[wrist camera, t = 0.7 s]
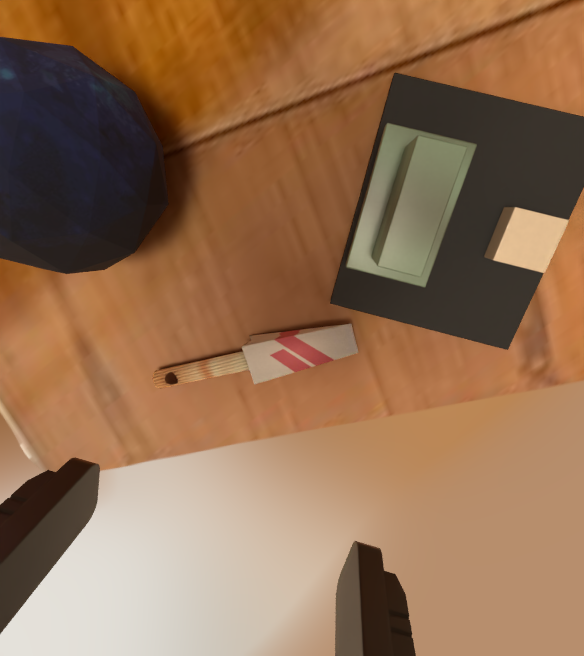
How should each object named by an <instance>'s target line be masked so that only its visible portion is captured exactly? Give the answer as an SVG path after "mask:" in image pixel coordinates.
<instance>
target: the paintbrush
mask: <svg viewBox="0 0 584 656" xmlns="http://www.w3.org/2000/svg"><path fill="white" fill-rule="evenodd" d="M250 339H251V341H250V342H248V343H247V344H245V345H243V346H242V349H243V351H242V352H238V353H233V354H229V355H224V356H219V357H215V358H210V359H206V360H201V361H197V362H192V363H188V364H183V365H179V366H174V367H170V368H165V369H161V370H156V371H155V372H154V373H153V381H154V382H153V383H154V384H155V386H156V387H157V388H165V387H169V386H174V385H179V384H184V383H189V382H193V381H198V380H203V379H208V378H213V377H218V376H223V375H227V374H232V373H237V372H242V371H246V370H250V373H251V375H252V378H253V381H254V384H258V383H261V382H264V381H268V380H271V379H274V378H277V377H281V376H284V375H287V374H291V373H294V372H297V371H300V370H304V369H307V368H310V367H313V366H317V365H320V364H323V363H326V362H330V361H333V360H336V359H339V358H343V357H346V356H349V355H352V354H356V353H358V349H357V345H356V341H355V337H354V333H353V329H352V325H351V324H344V325H335V326H327V327H319V328H310V329H302V330H294V331H285V332H277V333H269V334H260V335H252V336H250ZM173 372H174V374H175V375H176V377H177V378H178V379H176V377H175V376H174V374H173Z"/></svg>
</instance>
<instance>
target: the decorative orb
mask: <svg viewBox="0 0 584 656" xmlns="http://www.w3.org/2000/svg"><path fill="white" fill-rule="evenodd" d="M168 204H169V203H168V193H167V184H166V174H165V165H164V156H163V146H162V144H161V142H160V140H159V138H158V136H157V134H156V132H155V130H154V129H153V127H152V125H151V123H150V121H149V119H148V117H147V115H146V113H145V111H144V109H143V107H142V105H141V103H140V101H139V99H138V97H137V95H136V93H135V92H134V91H132V90H131V89H130V88H128V87H127V86H126V85H124V84H123V83H122V82H120V81H119V80H118V79H116V78H115V77H114V76H112V75H111V74H109V73H108V72H107V71H105V70H104V69H103V68H101V67H100V66H99V65H97V64H96V63H95V62H93V61H92V60H90V59H89V58H88V57H86V56H85V55H84V54H82V53H81V52H80V51H78V50H77V49H76V48H74V47H73V46H68V45H60V44H52V43H44V42H37V41H29V40H21V39H13V38H6V37H0V258H2V259H6V260H10V261H14V262H18V263H22V264H26V265H30V266H34V267H38V268H42V269H46V270H51V271H55V272H60V273H65V274H70V273H79V272H88V271H98V270H105V269H107V268H108V267H110V266H112V265H114V264H115V263H117V262H119V261H121V260H122V259H124V258H126V257H128V256H129V255H131V254H133V253H135V251H136V250H137V248H138V247H139V246H140V244H141V243H142V241H143V240H144V238H145V237H146V236H147V234H148V233H149V231H150V230H151V228H152V227H153V226H154V224H155V223H156V221H157V220H158V218H159V217H160V216H161V214H162V213H163V211H164V210H165V209H166V207H167V206H168Z"/></svg>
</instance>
